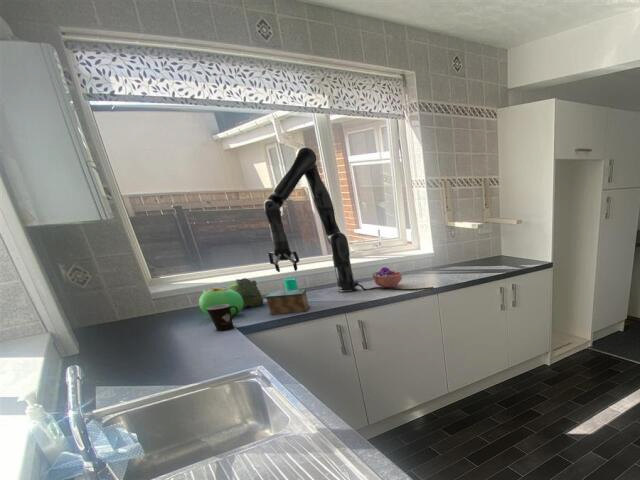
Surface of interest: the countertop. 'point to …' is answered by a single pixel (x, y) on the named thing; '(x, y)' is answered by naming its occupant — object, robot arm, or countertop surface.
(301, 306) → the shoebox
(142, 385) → the countertop surface
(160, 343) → the countertop surface
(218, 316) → the coffee mug
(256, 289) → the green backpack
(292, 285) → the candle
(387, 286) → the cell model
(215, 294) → the green round pot
